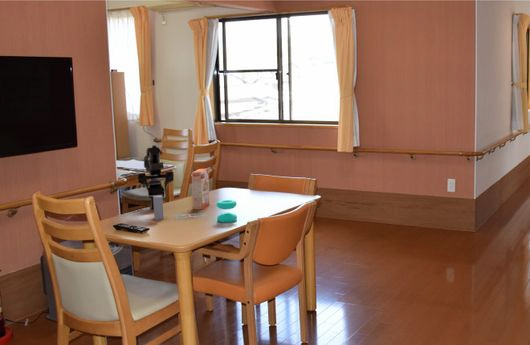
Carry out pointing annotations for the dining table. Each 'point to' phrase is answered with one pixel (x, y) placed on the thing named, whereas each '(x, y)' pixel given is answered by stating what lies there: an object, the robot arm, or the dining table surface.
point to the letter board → (189, 215)
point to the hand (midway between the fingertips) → (156, 189)
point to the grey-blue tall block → (158, 207)
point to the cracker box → (200, 188)
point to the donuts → (226, 216)
